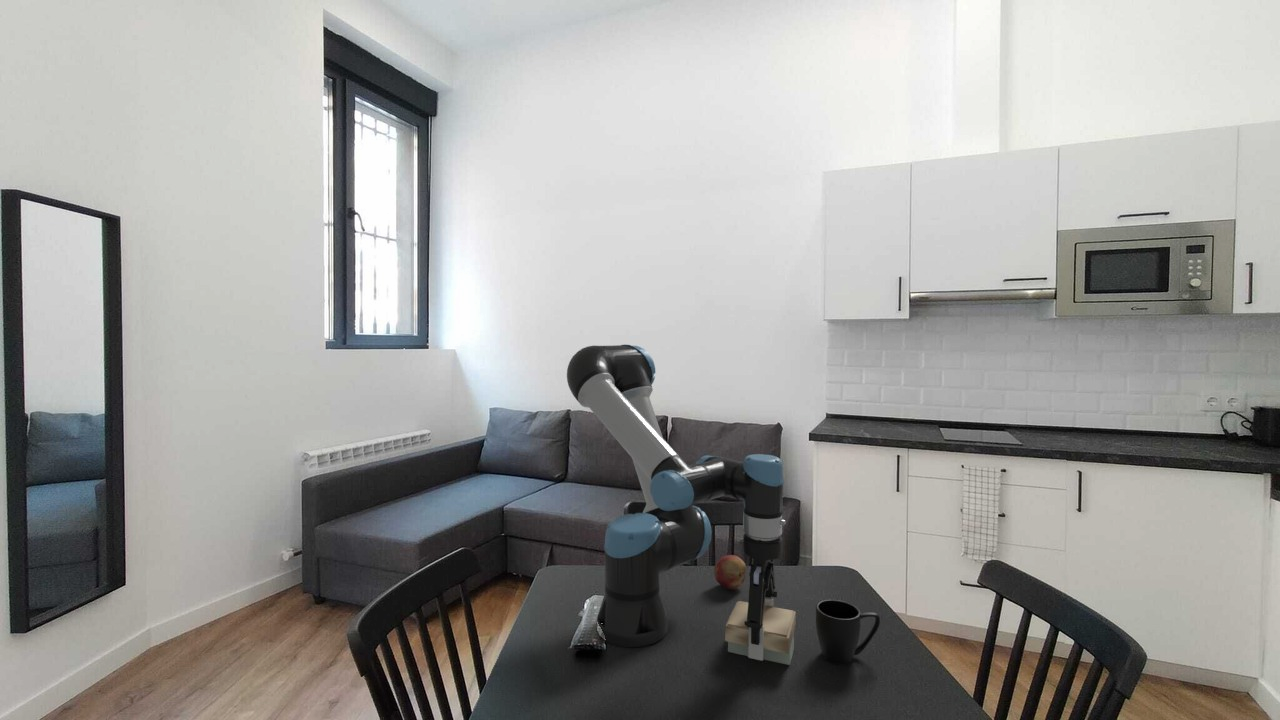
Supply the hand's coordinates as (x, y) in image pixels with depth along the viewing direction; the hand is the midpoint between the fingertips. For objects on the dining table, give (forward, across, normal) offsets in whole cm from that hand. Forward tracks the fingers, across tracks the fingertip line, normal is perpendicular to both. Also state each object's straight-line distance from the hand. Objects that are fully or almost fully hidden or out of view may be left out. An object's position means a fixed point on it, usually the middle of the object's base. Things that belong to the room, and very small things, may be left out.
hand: (761, 642), depth 114 cm
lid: (-2, 0, 0) cm, 2 cm away
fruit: (+2, +25, +12) cm, 28 cm away
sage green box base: (+2, 0, 0) cm, 2 cm away
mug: (+2, +4, -16) cm, 17 cm away
